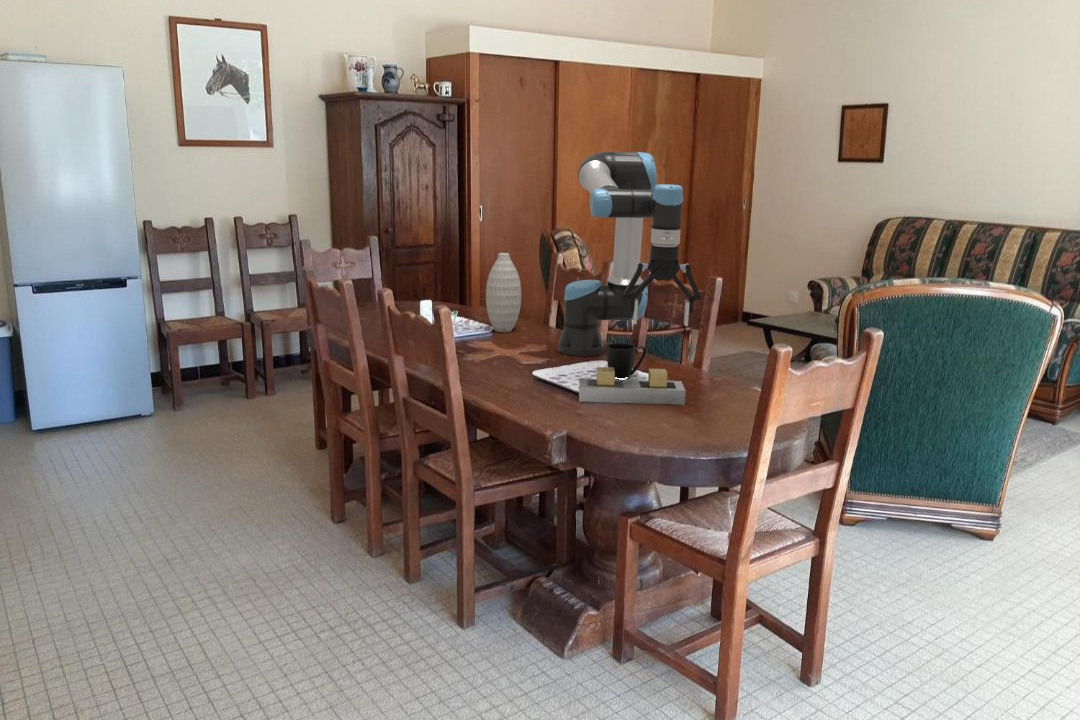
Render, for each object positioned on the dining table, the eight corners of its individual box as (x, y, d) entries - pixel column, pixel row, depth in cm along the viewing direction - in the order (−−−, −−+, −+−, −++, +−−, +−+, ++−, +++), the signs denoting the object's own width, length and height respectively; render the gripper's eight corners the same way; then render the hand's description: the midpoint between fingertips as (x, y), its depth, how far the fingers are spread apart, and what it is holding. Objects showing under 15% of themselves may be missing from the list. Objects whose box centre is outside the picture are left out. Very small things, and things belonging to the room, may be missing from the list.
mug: (650, 379, 252) (651, 348, 249) (611, 381, 248) (612, 350, 246) (639, 372, 259) (640, 341, 257) (601, 374, 256) (603, 343, 254)
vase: (506, 325, 322) (507, 250, 315) (527, 331, 312) (528, 254, 306) (478, 329, 314) (479, 252, 307) (499, 335, 305) (500, 256, 298)
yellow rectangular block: (647, 396, 234) (648, 368, 233) (663, 397, 234) (665, 369, 232) (648, 401, 230) (650, 372, 228) (665, 402, 230) (667, 373, 228)
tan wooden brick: (596, 395, 235) (597, 367, 233) (612, 395, 235) (613, 367, 233) (596, 400, 231) (597, 371, 229) (613, 400, 231) (614, 371, 229)
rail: (578, 392, 237) (579, 378, 236) (680, 395, 236) (681, 381, 236) (579, 401, 229) (579, 387, 228) (684, 404, 228) (685, 390, 227)
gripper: (618, 245, 221) (614, 325, 227) (715, 248, 220) (709, 328, 226) (616, 241, 228) (613, 319, 234) (710, 244, 228) (705, 322, 233)
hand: (660, 324), depth 230 cm, fingers open, 13 cm apart
